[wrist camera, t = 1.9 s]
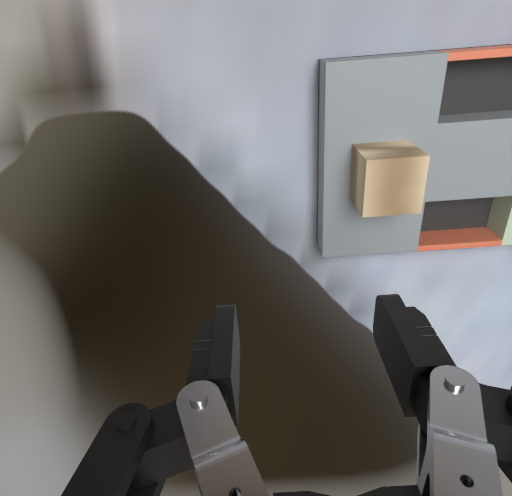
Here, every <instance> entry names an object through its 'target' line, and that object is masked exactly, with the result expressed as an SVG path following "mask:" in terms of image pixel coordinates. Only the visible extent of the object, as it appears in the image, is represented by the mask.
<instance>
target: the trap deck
mask: <svg viewBox="0 0 512 496" xmlns="http://www.w3.org/2000/svg"><path fill="white" fill-rule="evenodd" d="M400 140H408V141H410V142H411V143H413V144H414V145H415V146H417V147H418V148H420V149H421V150H423V151H424V152H425V153H427V154H428V155H430V160H429V167H428V173H427V179H426V186H425V192H424V198H423V205H422V211H421V213H419V214H405V215H391V216H377V217H362V216H361V214H360V213H359V211H358V209H357V208H356V206H355V204H354V203H353V201H352V199H351V198H350V196H349V192H350V173H351V154H352V144H360V143H373V142H387V141H400ZM317 242H318V245H319V249H320V252H321V255H322V258H325V257H340V256H354V255H369V254H384V253H399V252H413V251H428V250H443V249H457V248H472V247H487V246H501V245H512V44H506V45H494V46H481V47H469V48H456V49H443V50H431V51H418V52H405V53H393V54H380V55H367V56H355V57H342V58H329V59H319V88H318V189H317Z"/></svg>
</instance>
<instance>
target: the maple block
mask: <svg viewBox="0 0 512 496" xmlns="http://www.w3.org/2000/svg"><path fill="white" fill-rule="evenodd" d="M429 160H430V155H428V154H427V153H425V152H424V151H423V150H421V149H420V148H418V147H417V146H415V145H414V144H413V143H411V142H410V141H408V140H400V141H387V142H373V143H360V144H352V154H351V173H350V192H349V196H350V198H351V199H352V201H353V203H354V204H355V206H356V208H357V209H358V211H359V213H360V214H361V216H362V217H377V216H391V215H405V214H419V213H421V211H422V205H423V198H424V192H425V186H426V179H427V173H428V167H429Z"/></svg>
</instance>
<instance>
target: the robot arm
mask: <svg viewBox="0 0 512 496" xmlns="http://www.w3.org/2000/svg"><path fill="white" fill-rule="evenodd" d="M373 334H374V340H375V343H376V346H377V348H378V351H379V353H380V355H381V358H382V360H383V363H384V365H385V368H386V370H387V373H388V375H389V378H390V380H391V383H392V385H393V388H394V390H395V392H396V395H397V397H398V400H399V403H400V405H401V408H402V410H403V412H404V415H405V417H413V416H416V417H417V419H418V421H419V428H418V444H417V478H416V485H409V486H390V487H380V488H377V489H375V490H372V491H369V492H366V493H364V494H361V495H358V496H502V489H501V482H500V475H499V469H498V466H499V467H500V468H501V470H502V471H503V472H504V474H505V475H506V476H507V477H508V479H509V480H510V481H511V482H512V387H511V389H510V390H507V389H502V388H497V387H492V386H487V385H483V384H480V383H478V381H477V380H476V379H475V378H474V377H473V376H472V375H471V374H470V373H469V372H467V371H465V370H463V369H461V368H459V367H457V366H456V365H455V363H454V362H453V360H452V358H451V357H450V355H449V353H448V352H447V350H446V349H445V347H444V345H443V344H442V342H441V340H440V339H439V337H438V336H437V334H436V332H435V331H434V329H433V328H432V327H431V324H430V323H429V321H428V319H427V318H426V316H425V315H424V314H423V313H421V312H420V311H419V310H418V309H416V308H415V307H406V306H405V305H404V303H403V301H402V299H401V297H400V296H399V295H398V294H391V295H378V296H377V297H376V304H375V313H374V323H373ZM239 369H240V337H239V328H238V320H237V312H236V305H235V304H234V305H220V306H216V310H215V319H211V320H203V321H202V322H201V324H200V325H199V326H198V328H197V330H196V333H195V339H194V344H193V351H192V355H191V361H190V367H189V373H188V378H187V383H186V386H185V387H184V388H183V389H182V390H181V391H180V393H179V394H178V396H177V398H176V399H175V400H173V401H172V402H170V403H168V404H166V405H163V406H160V407H157V408H154V409H151V410H149V409H148V408H147V407H146V406H145V405H143V404H140V403H128V404H125V405H122V406H120V407H118V408H117V409H115V410H114V411H113V412H112V413H111V414H110V415H109V416H108V417H107V419H106V420H105V422H104V423H103V425H102V427H101V429H100V430H99V432H98V434H97V435H96V437H95V439H94V441H93V442H92V444H91V446H90V447H89V449H88V451H87V453H86V454H85V456H84V458H83V459H82V461H81V463H80V464H79V466H78V468H77V469H76V471H75V473H74V475H73V476H72V478H71V480H70V481H69V483H68V485H67V486H66V488H65V490H64V492H63V493H62V495H61V496H160V494H161V491H162V488H163V485H164V483H165V480H166V478H168V477H171V476H174V475H176V474H179V473H181V472H183V471H186V470H189V469H191V468H193V469H194V473H195V477H196V480H197V483H198V487H199V490H200V493H201V496H269V494H268V492H267V489H266V487H265V485H264V483H263V480H262V478H261V476H260V474H259V471H258V469H257V467H256V464H255V462H254V460H253V458H252V455H251V453H250V451H249V448H248V446H247V444H246V442H245V441H244V440H243V439H242V440H241V438H240V436H239V434H238V432H237V430H236V427H235V426H238V409H239V408H238V407H239V372H240V370H239ZM273 496H329V495H324V494H320V493H315V492H310V491H300V492H284V493H283V492H281V493H273Z"/></svg>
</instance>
